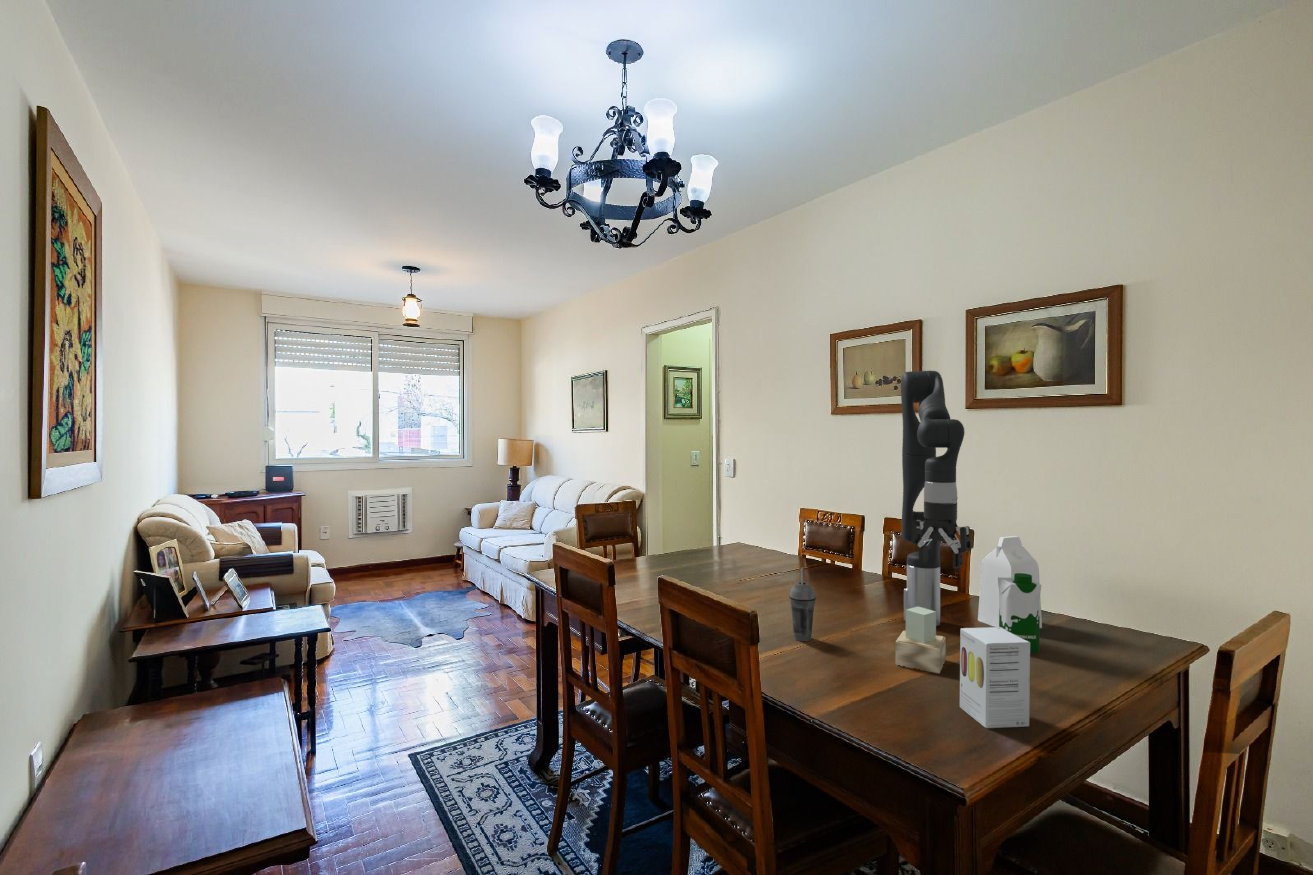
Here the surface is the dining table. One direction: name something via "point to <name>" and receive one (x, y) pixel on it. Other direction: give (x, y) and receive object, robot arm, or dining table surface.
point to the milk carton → (1020, 608)
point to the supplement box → (995, 677)
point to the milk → (1003, 575)
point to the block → (921, 624)
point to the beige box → (920, 653)
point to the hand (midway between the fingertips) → (940, 565)
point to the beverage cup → (802, 609)
